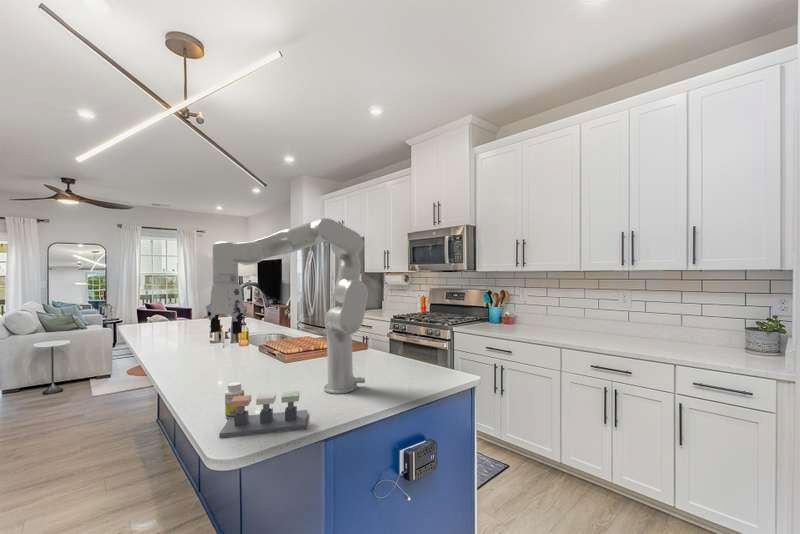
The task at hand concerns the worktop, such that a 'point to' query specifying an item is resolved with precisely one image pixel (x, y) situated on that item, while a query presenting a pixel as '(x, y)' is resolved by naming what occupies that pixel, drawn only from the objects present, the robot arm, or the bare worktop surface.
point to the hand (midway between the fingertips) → (226, 332)
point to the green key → (290, 398)
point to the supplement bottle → (232, 391)
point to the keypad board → (264, 422)
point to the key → (240, 403)
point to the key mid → (266, 400)
